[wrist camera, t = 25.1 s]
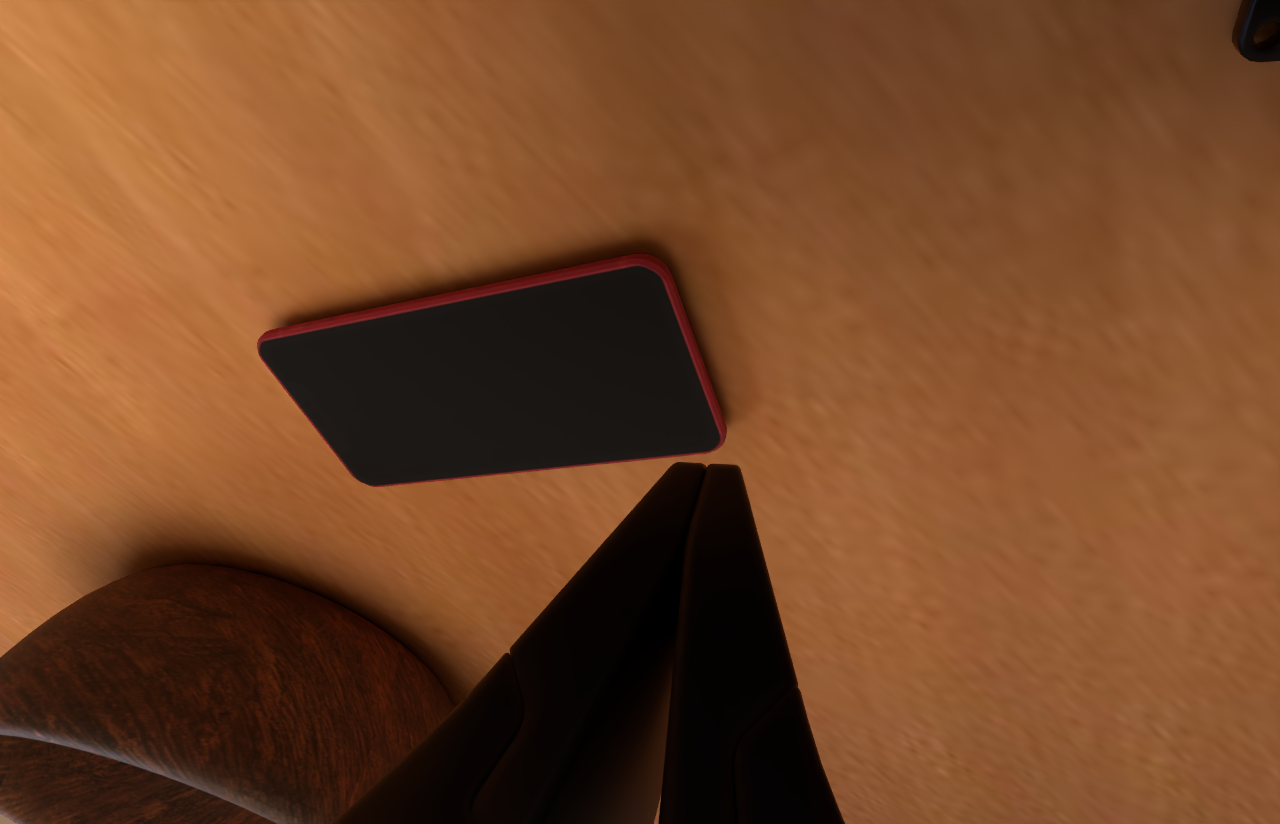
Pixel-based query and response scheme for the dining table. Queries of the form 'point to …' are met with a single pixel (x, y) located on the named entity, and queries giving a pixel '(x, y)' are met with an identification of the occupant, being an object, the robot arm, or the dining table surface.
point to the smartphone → (506, 377)
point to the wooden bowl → (205, 705)
